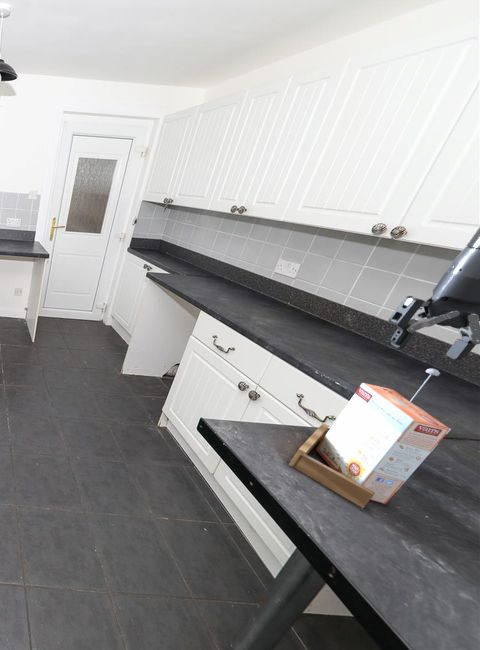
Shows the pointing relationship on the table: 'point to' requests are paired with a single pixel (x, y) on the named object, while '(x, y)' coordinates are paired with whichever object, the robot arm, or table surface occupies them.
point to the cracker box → (380, 440)
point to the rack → (328, 472)
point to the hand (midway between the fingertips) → (423, 352)
